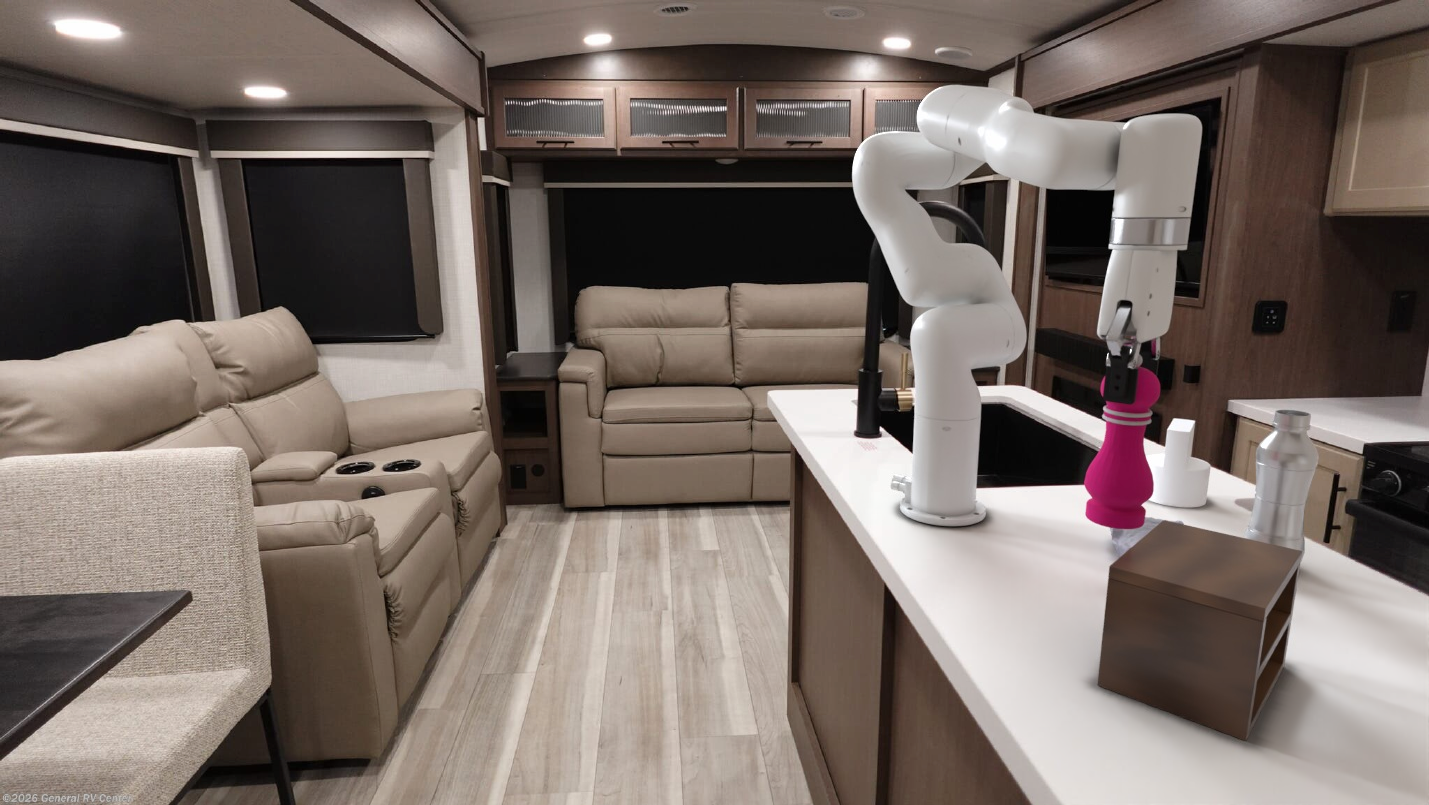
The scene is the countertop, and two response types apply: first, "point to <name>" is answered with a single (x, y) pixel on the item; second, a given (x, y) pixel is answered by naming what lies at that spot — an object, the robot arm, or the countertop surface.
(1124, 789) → the countertop surface
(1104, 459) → the pepper mill
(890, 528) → the countertop surface
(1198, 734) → the countertop surface
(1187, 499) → the base with upright slab
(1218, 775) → the countertop surface
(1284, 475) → the silver metal bottle
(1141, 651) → the shelf
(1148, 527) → the stone block
